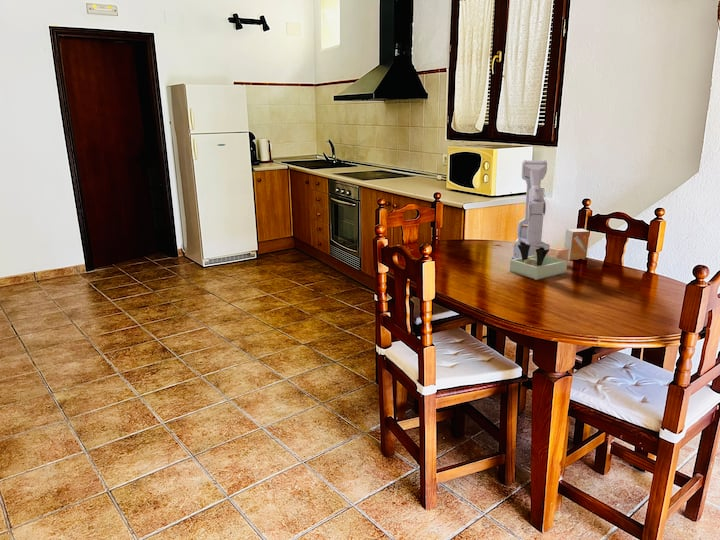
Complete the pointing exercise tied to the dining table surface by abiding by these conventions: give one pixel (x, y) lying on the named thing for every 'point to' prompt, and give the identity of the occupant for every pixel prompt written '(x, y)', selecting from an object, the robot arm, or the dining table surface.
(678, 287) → the dining table surface
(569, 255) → the small box
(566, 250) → the terracotta capsule
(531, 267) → the tote
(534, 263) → the birch cube
